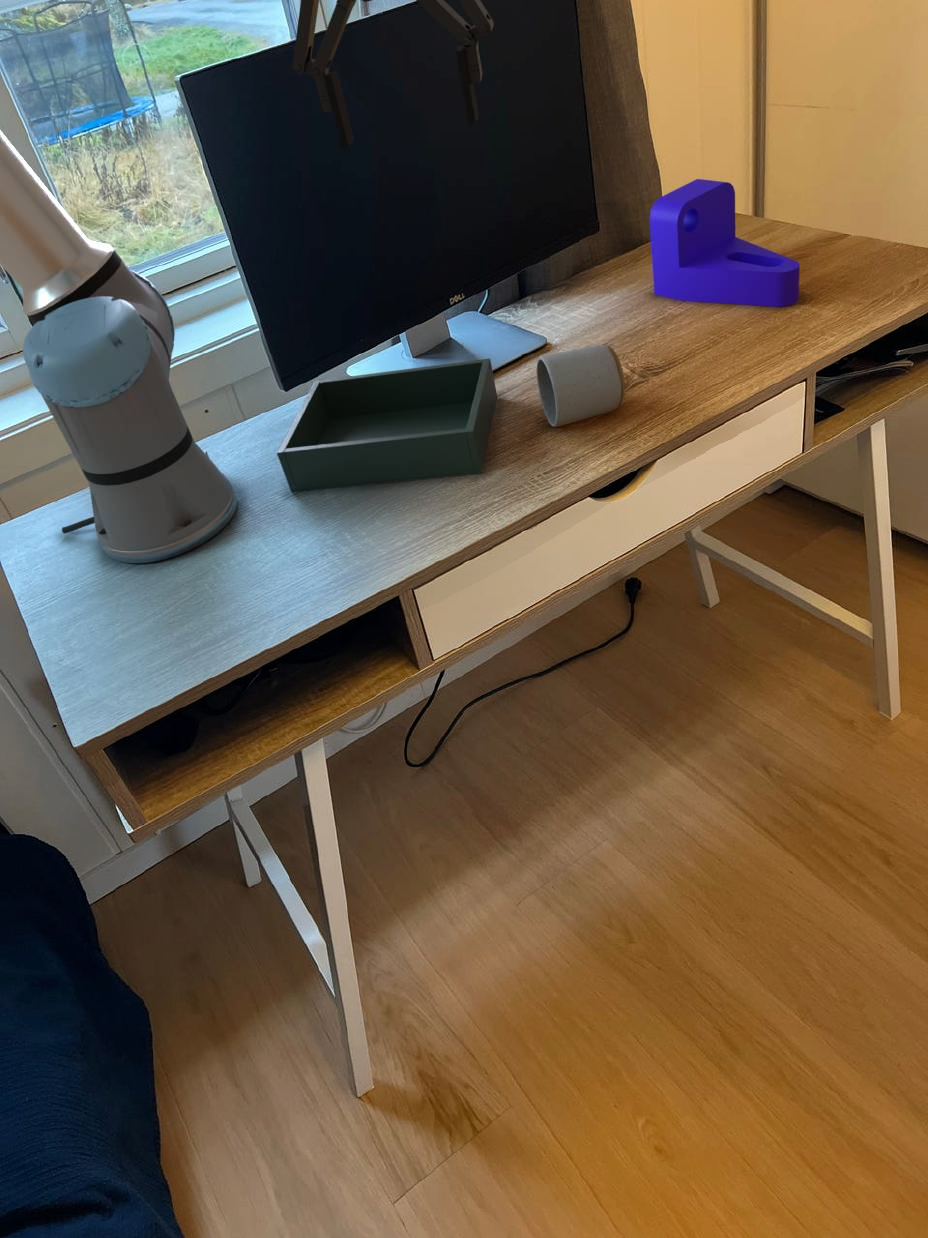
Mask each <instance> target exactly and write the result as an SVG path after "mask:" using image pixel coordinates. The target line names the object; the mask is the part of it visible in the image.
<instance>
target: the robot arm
mask: <svg viewBox="0 0 928 1238" xmlns="http://www.w3.org/2000/svg"><path fill="white" fill-rule="evenodd" d="M360 1H362V2H363V3H367V2H371V1H373V0H360ZM415 1H416V2H417V3H418V4H419V5H420V6H421V7H423V9H425V11H427V12H428V13H429V14H430V15H431V16H432V17H433V18H434V19H435V20H436V21H437V22H438V23H439V24H440V25H441V26H442V27H443V28H444V29H446V30H447V32H448V33H449V34H451V35H452V36H453V37H454V38H455V39H456V41H458V42H459V43H460V44H461V45H459V46H458V47H457V49H456V51H455V55H456V60H457V65H458V71H459V78H460V84H461V88H462V89H461V90H462V96H463V100H464V101H463V102H464V107H465V112H466V118H467V124H468V125H473V124H477V121H478V119H479V117H480V116H479V109H478V102H477V96H476V91H475V85H474V84H480V83H481V81H482V79H483V70H482V61H481V57H480V51H479V42H480V41H481V40H482V39H484V38H485V37H487V36H489V35H490V34H491V33H492V31H493V28H494V25H495V24H494V20H493V18H492V17H491V15H490V13H489V12H488V10H487V9H486V7H485V6H484V4H483V3H482V0H458V1H459V3H460V4H461V6H462V7H463V9H464V11H465V12H466V14H467V15H468V17H469V18H470V20H471V22H472V23H473V26H471V25H470V24H469V23H468V22H467V21H466V20H465V19H464V18H463V17H462V16H460V14H459V13H458V12H456V11H455V10H454V8H453V7H452V6H450V5H449V4H448V3H447V2H446V1H445V0H415ZM356 3H357V0H336V2H335V6H334V9H333V11H332V14H331V16H330V20H329V22H328V24H327V28H326V30H325V33H324V35H323V37H322V41H321V42H320V46H319V48H318V51H317V54H316V55H315V58H312V55H313V48H314V47H313V46H314V41H315V40H314V39H315V33H316V26H317V18H318V12H319V4H320V0H300V5H299V11H298V21H297V27H296V36H295V44H294V52H293V60H292V70H293V72H294V74H296V75H305V76H309V77H311V78H313V80H314V83H315V86H316V90H317V93H318V97H319V101H320V105H321V108H322V110H323V111H324V113H325V114H327V113H332V116H333V119H334V123H335V127H336V131H337V135H338V139H339V141H340V146H341V148H342V149H344V148H349V147H350V146H351V144H352V143H353V142H354V141H355V137H354V133H353V130H352V125H351V121H350V117H349V113H348V109H347V105H346V101H345V97H344V92H343V89H342V85H341V81H340V77H339V73H338V71H330V66H331V64H332V62H333V59H334V57H335V54H336V51H337V49H338V46H339V43H340V41H341V38H342V36H343V33H344V32H345V28H346V26H347V24H348V22H349V18H350V16H351V13H352V11H353V9H354V7H355V5H356ZM329 71H330V72H329ZM0 265H1V266H2V268H3V269H4V270H5V271H6V272H7V273H8V275H9V276H10V277H11V278H12V279H13V280H14V281H15V282H16V283H17V285H18V286H19V287H20V288H21V290H22V294H23V295H22V296H23V297H22V298H23V300H22V304H23V305H22V312H23V314H25V316H26V317H27V318H29V320H30V321H31V322H32V323H33V325H32V327H31V328H30V330H29V331H28V332H27V334H26V336H25V338H24V340H23V343H22V357H23V360H24V362H25V365H26V367H27V369H28V373H29V377H30V379H31V380H32V383H33V386H34V388H35V389H36V390H37V392H38V393H39V394H40V395H41V397H42V399H43V400H44V403H45V405H46V406H47V408H48V410H49V412H50V414H51V416H52V418H53V419H54V421H55V424H56V425H57V427H58V429H59V431H60V433H61V434H62V437H63V439H64V440H65V442H66V443H67V445H68V447H69V449H70V451H71V453H72V455H73V457H74V458H75V460H76V463H77V464H78V466H79V467H80V469H81V471H82V473H83V475H84V477H85V479H86V481H87V483H88V486H89V493H90V499H91V507H92V514H93V516H91V517H88V518H86V519H83V520H79V521H77V522H74V523H72V524H70V525H66V526H63V527H62V528H61V532H62V533H63V534H68V533H71V532H74V531H78V530H79V529H81V528H84V527H87V526H90V525H94V529H95V533H96V535H97V539H98V541H99V542H100V545H101V547H102V548H103V550H104V552H105V553H106V555H108V557H110V558H111V559H114V560H116V561H118V562H122V563H128V564H145V563H152V562H159V561H163V560H167V559H170V558H174V557H176V556H179V555H182V554H184V553H187V552H189V551H191V550H193V549H195V548H197V547H199V546H201V545H203V544H204V543H206V542H207V541H209V540H211V539H212V538H213V537H215V536H216V534H218V533H220V531H222V530H223V529H224V528H225V527H226V526H227V524H228V523H229V522H230V521H231V520H232V519H233V516H234V514H235V513H236V511H237V506H238V498H237V495H236V492H235V490H234V488H233V485H232V484H231V482H230V480H229V479H228V478H227V476H226V474H224V473H223V472H222V471H221V470H220V469H219V468H218V467H217V466H216V464H215V463H214V462H213V461H212V460H211V458H210V456H209V454H208V451H204V450H202V448H201V447H200V446H199V445H198V444H197V443H196V441H195V439H194V438H193V435H192V433H191V431H190V428H189V425H188V423H187V421H186V418H185V417H184V414H183V412H182V409H181V408H180V405H179V403H178V402H179V401H178V400H177V398H176V396H175V393H174V391H173V388H172V386H171V382H170V373H171V364H172V357H173V356H172V355H173V352H174V351H173V350H174V346H175V336H176V335H175V334H176V333H175V326H174V319H173V316H172V314H171V310H170V307H169V305H168V303H167V301H166V299H165V297H164V296H163V294H162V293H161V291H160V290H159V289H158V288H157V286H156V285H154V284H153V282H151V281H150V280H149V279H148V278H146V277H145V276H143V275H141V274H140V273H138V272H136V271H135V270H132V269H131V268H130V267H129V266H128V265H127V264H126V262H125V261H124V259H122V257H121V256H120V255H119V253H117V251H116V250H115V249H114V248H113V247H112V245H111V244H108V243H104V242H98V241H93V240H90V239H89V238H87V236H86V235H85V234H84V233H83V232H82V230H81V229H80V227H79V226H78V225H77V224H76V223H75V221H74V220H73V219H72V218H71V216H70V215H69V214H68V213H67V212H66V210H65V209H64V208H63V207H62V205H61V204H60V203H59V202H58V200H57V199H56V197H54V195H53V194H52V193H51V192H50V190H49V189H48V188H47V187H46V185H45V184H44V183H43V182H42V180H41V179H40V177H38V175H37V174H36V173H35V172H34V171H33V169H32V168H31V167H30V166H29V164H28V163H27V162H26V161H25V159H24V157H22V156H21V155H20V153H19V152H18V150H16V148H15V147H14V145H13V144H12V143H11V142H10V141H9V139H8V138H7V137H6V136H5V134H4V133H3V132H2V131H1V130H0Z"/></svg>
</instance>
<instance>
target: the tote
mask: <svg viewBox="0 0 928 1238" xmlns="http://www.w3.org/2000/svg"><path fill="white" fill-rule="evenodd" d="M497 403H498V393H497V388H496V383H495V377H494V372H493V366H492V362H491V358H489V357H488V358H484V359H474V360H467V361H459V362H451V363H444V364H436V365H435V364H434V365H428V366H427V365H426V366H421V367H420V366H419V367H413V368H412V367H411V368H405V369H404V368H403V369H397V370H389V371H382V372H373V373H367V374H365V373H364V374H358V375H351V376H350V375H349V376H343V377H342V376H341V377H335V378H334V377H333V378H328V379H320V380H314V381H313V383H312V385H311V387H310V389H309V391H308V393H307V395H306V397H305V398H304V400H303V403H302V404H301V405H300V408H299V410H298V412H297V414H296V416H295V417H294V420H293V421H292V424H291V425H290V427H289V428H288V430H287V432H286V435H285V437H284V438H283V440H282V442H281V444H280V446H279V448H278V450H277V451H276V455H277V457H278V460H279V463H280V465H281V468H282V471H283V473H284V476H285V479H286V481H287V485H288V487H289V490H290V493H298V492H299V493H300V492H309V491H320V490H327V489H328V490H330V489H338V488H339V489H340V488H349V487H358V486H359V487H361V486H368V485H369V486H370V485H379V484H388V483H389V484H390V483H398V482H408V481H417V480H429V479H437V478H447V477H448V478H449V477H458V476H467V475H469V476H470V475H477V474H483V469H484V466H485V461H486V457H487V451H488V447H489V441H490V436H491V432H492V427H493V421H494V416H495V412H496V407H497Z"/></svg>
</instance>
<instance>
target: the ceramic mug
mask: <svg viewBox="0 0 928 1238" xmlns="http://www.w3.org/2000/svg"><path fill="white" fill-rule="evenodd" d="M535 369H536V370H535V371H536V382H537V388H538V393H539V398H540V402H541V405H542V408H543V413H544V415H545V417H546V419H547V421H548V423H549V424H550V426H551V427H553V428H559V427H562V426H565V425H568V424H573V423H576V422H579V421H582V420H586V419H589V418H592V417H596V416H599V415H604V414H606V413H607V414H608V413H610V412H612V411H615V410H616V409H618V408H620V407H621V405H622V404H623V402H624V399H625V395H626V384H625V375H624V370H623V365H622V364H621V360H620V358H619V356H618V354H617V352H616V351H615V350H614V348H612V347H611V346H610V345H605V344H604V345H603V344H602V345H601V344H598V345H590V346H585V347H581V348H576V349H570V350H566V351H565V350H564V351H561V352H555V353H549V354H545V355H544V354H543V355H541V356H540V357H538V358H537V362H536V368H535Z"/></svg>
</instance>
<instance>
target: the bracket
mask: <svg viewBox="0 0 928 1238" xmlns="http://www.w3.org/2000/svg"><path fill="white" fill-rule="evenodd" d="M649 231H650V248H651V262H652V263H651V264H652V277H653V279H652V280H653V291H654V296H655V295H656V296H659V297H664V298H666V299H667V298H668V299H672V300H676V301H680V302H694V303H695V302H696V303H709V304H711V303H713V304H728V305H740V306H741V305H743V306H760V307H773V308H774V307H775V308H782V307H789V306H792V305H795V304H796V303H797V302H799V299H800V298H799V295H800V269H801V268H800V267H801V263H800V262H799V261H797V260H795V259H792V258H790V257H787V256H785V255H782V254H781V253H780V254H779V253H777V252H774V251H772V250H769V249H767V248H765V247H762V246H759V245H757V244H755V243H753V242H750V241H747V240H744V239H742V238H740V237H737V236H736V190H735V187H734V186H733V184H732V183H731V182H728V181H719V180H712V179H703V178H696V179H693V180H692V181H690V182H688V183H686V184H684V185H682V186H680V187H678V188H676V189H674V190H671V191H670V192H668V193H667V194H664V195H662V196H660V197H659V198H657V199H656V200H655V202H654V203H653V205H652V207H651V209H650V214H649Z"/></svg>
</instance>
